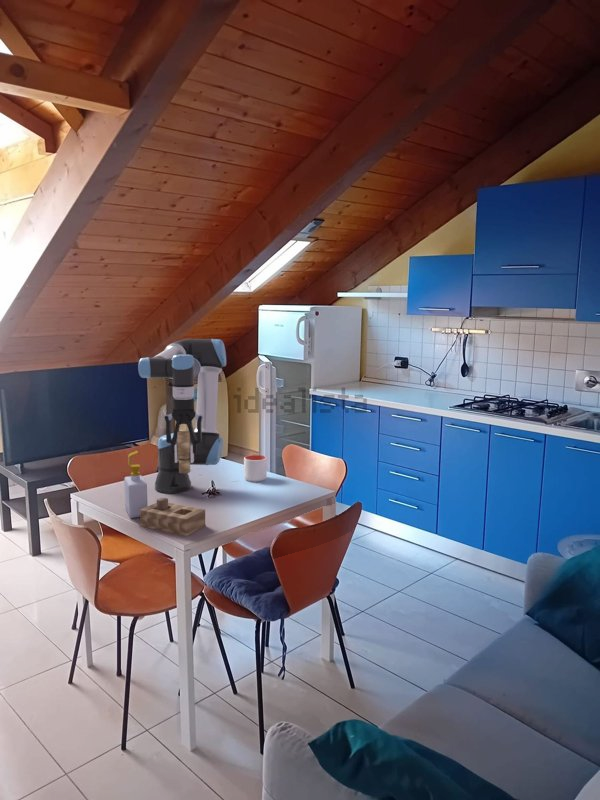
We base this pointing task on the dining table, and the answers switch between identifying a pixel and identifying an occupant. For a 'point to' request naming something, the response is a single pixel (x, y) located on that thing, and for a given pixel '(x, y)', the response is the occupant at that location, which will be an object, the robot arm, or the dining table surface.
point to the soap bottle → (135, 491)
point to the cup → (255, 468)
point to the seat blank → (172, 517)
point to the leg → (184, 450)
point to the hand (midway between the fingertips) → (184, 461)
